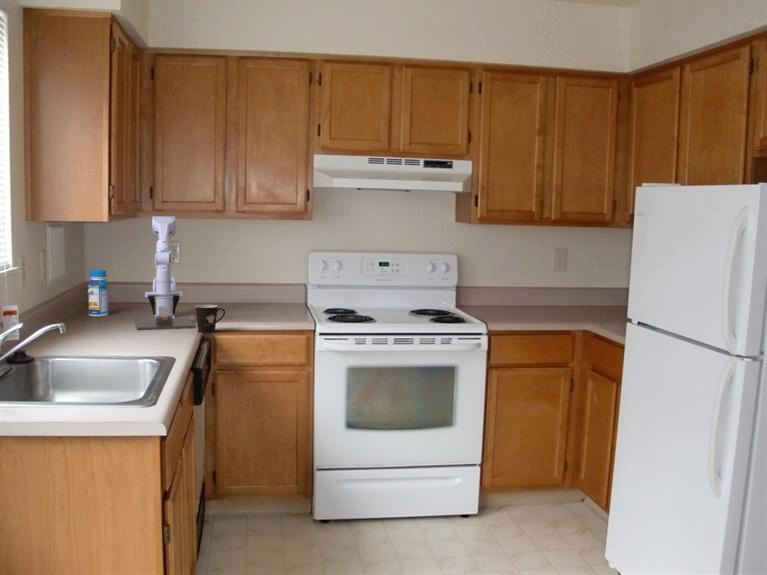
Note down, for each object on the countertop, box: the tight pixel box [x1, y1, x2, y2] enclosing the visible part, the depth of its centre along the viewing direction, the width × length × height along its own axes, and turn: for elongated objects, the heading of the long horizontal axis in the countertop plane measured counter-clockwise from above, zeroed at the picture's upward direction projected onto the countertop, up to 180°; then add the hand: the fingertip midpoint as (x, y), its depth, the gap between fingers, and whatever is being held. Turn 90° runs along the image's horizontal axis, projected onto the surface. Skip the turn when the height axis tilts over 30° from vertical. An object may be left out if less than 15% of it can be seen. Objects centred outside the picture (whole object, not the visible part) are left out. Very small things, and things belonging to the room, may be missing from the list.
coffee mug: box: [194, 304, 226, 334], centre depth 293 cm, size 12×9×10 cm
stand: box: [133, 315, 196, 331], centre depth 306 cm, size 22×22×4 cm
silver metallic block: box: [159, 306, 169, 317], centre depth 306 cm, size 4×4×6 cm
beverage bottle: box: [87, 268, 109, 317], centre depth 327 cm, size 8×8×20 cm
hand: (163, 314), depth 306 cm, fingers open, 7 cm apart
